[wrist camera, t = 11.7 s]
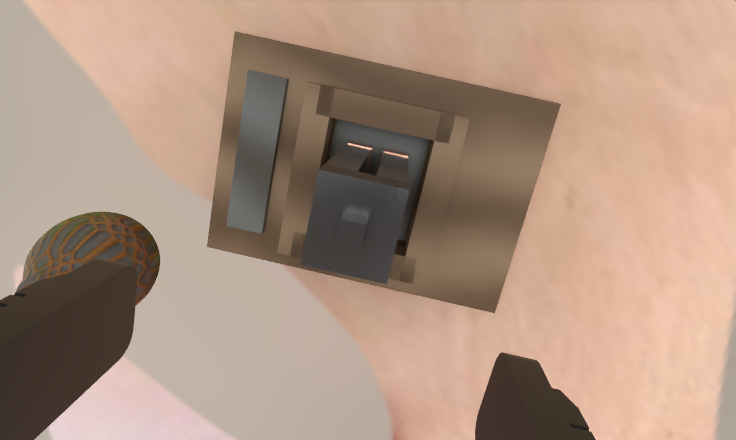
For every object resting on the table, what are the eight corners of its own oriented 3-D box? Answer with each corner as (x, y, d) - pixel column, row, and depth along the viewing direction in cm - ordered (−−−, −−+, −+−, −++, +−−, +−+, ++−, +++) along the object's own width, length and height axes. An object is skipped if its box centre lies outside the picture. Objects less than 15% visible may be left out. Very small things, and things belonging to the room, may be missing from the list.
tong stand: (240, 33, 29) (215, 24, 25) (555, 103, 29) (578, 105, 25) (212, 242, 33) (187, 261, 29) (491, 306, 33) (503, 334, 29)
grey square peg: (350, 140, 29) (311, 173, 17) (408, 153, 29) (411, 195, 17) (337, 203, 30) (292, 276, 18) (393, 215, 30) (386, 298, 18)
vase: (64, 250, 34) (-49, 301, 26) (116, 182, 32) (15, 212, 24) (139, 311, 35) (55, 381, 26) (194, 248, 33) (122, 300, 25)
